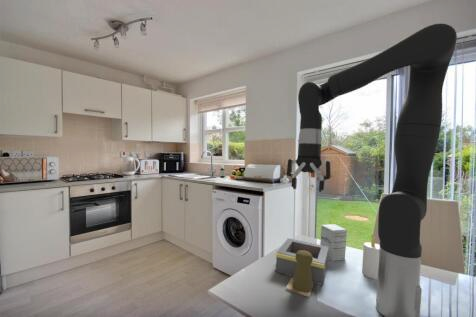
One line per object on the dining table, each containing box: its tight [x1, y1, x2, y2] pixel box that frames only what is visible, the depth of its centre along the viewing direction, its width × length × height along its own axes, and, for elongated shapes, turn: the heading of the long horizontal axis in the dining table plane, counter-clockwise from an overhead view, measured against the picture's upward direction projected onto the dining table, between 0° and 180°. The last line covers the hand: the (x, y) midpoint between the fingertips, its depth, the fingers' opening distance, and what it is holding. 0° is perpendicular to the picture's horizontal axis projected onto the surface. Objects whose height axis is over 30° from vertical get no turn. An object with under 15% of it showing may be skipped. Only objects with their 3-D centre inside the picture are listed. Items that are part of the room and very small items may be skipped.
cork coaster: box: [285, 276, 314, 298], centre depth 72 cm, size 7×7×1 cm
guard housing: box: [275, 237, 329, 286], centre depth 85 cm, size 16×17×7 cm
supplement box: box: [319, 223, 348, 262], centre depth 96 cm, size 7×7×13 cm
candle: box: [361, 233, 380, 280], centre depth 83 cm, size 6×6×15 cm
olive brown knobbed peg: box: [293, 250, 313, 292], centre depth 72 cm, size 6×6×11 cm
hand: (307, 190), depth 78 cm, fingers open, 8 cm apart
